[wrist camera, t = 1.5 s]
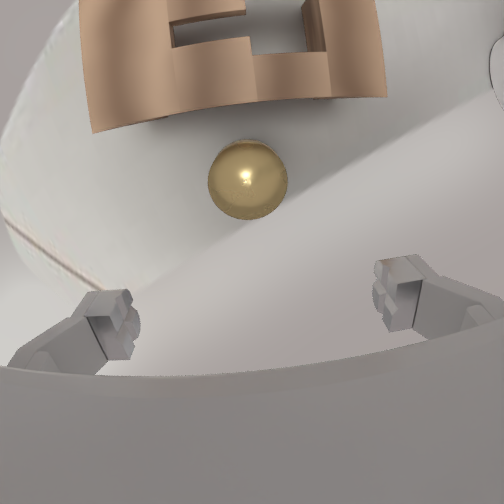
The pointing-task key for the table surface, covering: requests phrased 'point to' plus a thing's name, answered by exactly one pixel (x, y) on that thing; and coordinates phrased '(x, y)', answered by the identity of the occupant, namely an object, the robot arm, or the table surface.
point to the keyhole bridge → (219, 59)
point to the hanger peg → (247, 180)
